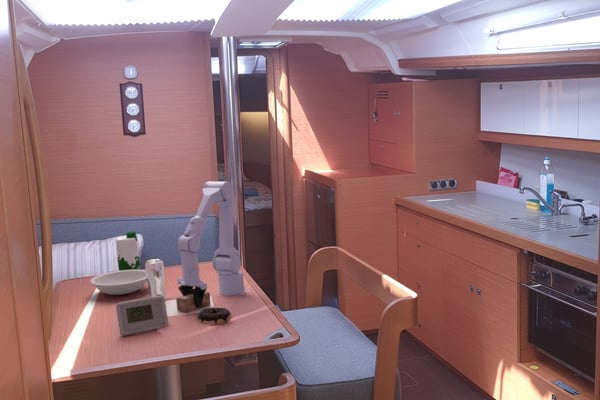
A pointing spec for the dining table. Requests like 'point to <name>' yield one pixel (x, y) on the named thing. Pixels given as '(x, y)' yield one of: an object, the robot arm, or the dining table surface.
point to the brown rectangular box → (191, 302)
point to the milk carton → (128, 252)
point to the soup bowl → (120, 281)
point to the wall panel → (172, 311)
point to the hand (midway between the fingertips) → (193, 305)
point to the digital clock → (141, 315)
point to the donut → (214, 316)
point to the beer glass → (155, 277)
